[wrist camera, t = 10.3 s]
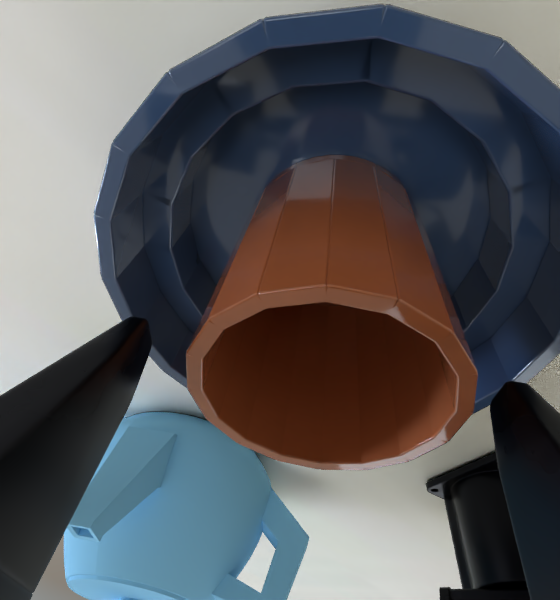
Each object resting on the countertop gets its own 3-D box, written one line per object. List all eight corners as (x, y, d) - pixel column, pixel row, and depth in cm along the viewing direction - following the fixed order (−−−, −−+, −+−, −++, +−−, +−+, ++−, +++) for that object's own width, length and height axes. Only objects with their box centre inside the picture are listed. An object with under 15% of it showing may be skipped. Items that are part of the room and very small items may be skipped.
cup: (347, 324, 17) (349, 492, 11) (223, 255, 15) (150, 407, 9) (457, 219, 13) (551, 391, 7) (307, 113, 11) (271, 221, 6)
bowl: (359, 388, 20) (363, 473, 17) (122, 265, 17) (60, 336, 13) (628, 185, 12) (755, 264, 8) (265, -129, 9) (207, -230, 5)
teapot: (207, 513, 35) (165, 671, 27) (61, 442, 30) (-49, 611, 21) (325, 472, 27) (317, 681, 18) (152, 364, 21) (32, 589, 13)
